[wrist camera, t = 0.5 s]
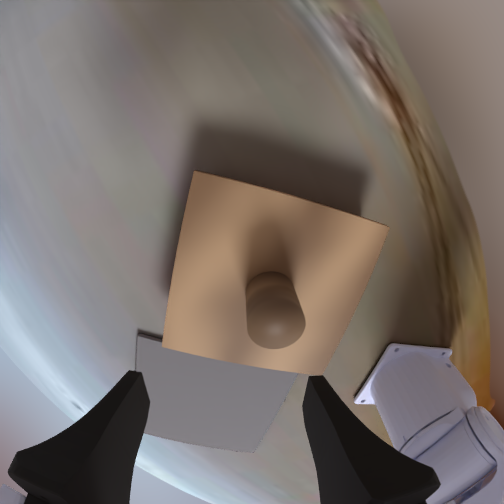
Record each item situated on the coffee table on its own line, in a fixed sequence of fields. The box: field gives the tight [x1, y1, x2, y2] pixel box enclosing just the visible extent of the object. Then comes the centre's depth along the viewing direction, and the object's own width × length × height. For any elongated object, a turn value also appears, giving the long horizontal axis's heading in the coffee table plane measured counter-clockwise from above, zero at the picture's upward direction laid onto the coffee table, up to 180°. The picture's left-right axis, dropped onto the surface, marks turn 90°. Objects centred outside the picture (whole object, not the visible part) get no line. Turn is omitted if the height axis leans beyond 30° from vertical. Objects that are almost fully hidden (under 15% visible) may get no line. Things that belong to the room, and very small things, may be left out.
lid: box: [162, 170, 390, 375], centre depth 16 cm, size 12×12×4 cm
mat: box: [136, 333, 298, 453], centre depth 25 cm, size 14×15×1 cm
